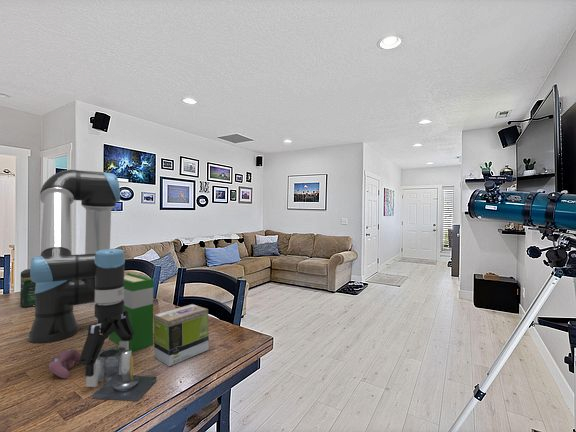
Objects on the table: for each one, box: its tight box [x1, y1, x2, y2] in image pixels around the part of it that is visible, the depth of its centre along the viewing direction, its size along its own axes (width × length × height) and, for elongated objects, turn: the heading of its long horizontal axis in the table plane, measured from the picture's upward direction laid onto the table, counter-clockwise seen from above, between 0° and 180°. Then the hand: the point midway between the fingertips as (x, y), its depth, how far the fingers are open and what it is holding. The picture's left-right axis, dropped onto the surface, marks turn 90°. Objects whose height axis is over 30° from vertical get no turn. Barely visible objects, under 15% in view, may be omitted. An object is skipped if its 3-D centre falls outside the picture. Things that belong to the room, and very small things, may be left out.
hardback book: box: [108, 272, 154, 353], centre depth 108 cm, size 18×7×24 cm, turn 54°
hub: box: [96, 346, 125, 383], centre depth 87 cm, size 8×8×6 cm
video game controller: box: [48, 348, 85, 380], centre depth 88 cm, size 10×5×7 cm, turn 5°
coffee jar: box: [19, 268, 36, 308], centre depth 150 cm, size 10×8×19 cm
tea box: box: [153, 303, 210, 367], centre depth 100 cm, size 15×10×15 cm
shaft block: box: [92, 350, 157, 402], centre depth 79 cm, size 12×9×10 cm
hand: (109, 373), depth 87 cm, fingers open, 13 cm apart
